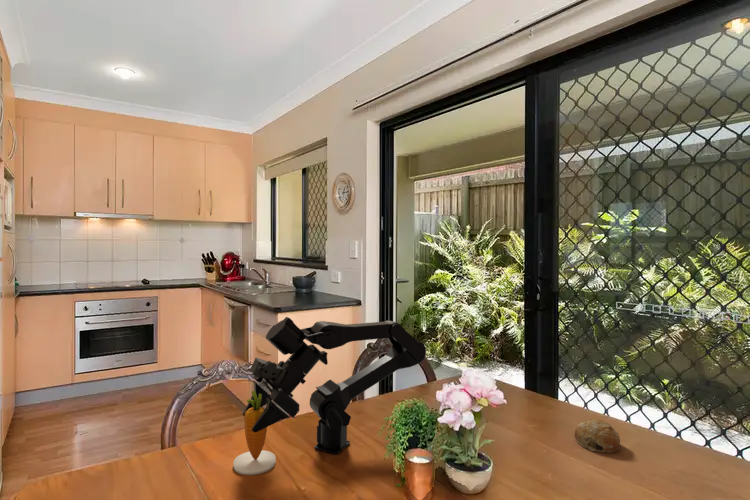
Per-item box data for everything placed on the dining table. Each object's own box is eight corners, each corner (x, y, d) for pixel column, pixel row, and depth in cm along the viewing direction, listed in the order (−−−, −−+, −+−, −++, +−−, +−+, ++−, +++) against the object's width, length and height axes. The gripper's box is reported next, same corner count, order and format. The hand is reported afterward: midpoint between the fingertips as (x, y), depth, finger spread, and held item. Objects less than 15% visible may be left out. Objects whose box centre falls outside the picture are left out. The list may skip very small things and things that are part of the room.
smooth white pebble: (283, 459, 100) (283, 455, 100) (257, 478, 92) (257, 474, 92) (252, 451, 104) (252, 447, 104) (224, 468, 95) (224, 464, 95)
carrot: (266, 464, 96) (267, 395, 96) (242, 466, 95) (243, 396, 95) (267, 453, 101) (268, 388, 100) (245, 455, 100) (245, 389, 100)
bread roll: (574, 460, 108) (575, 436, 105) (573, 428, 117) (574, 405, 113) (620, 468, 104) (623, 444, 101) (616, 434, 113) (618, 411, 110)
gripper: (262, 337, 107) (214, 389, 102) (284, 354, 91) (229, 417, 86) (293, 365, 111) (249, 416, 106) (320, 386, 95) (269, 448, 90)
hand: (248, 423), depth 97 cm, fingers open, 9 cm apart
